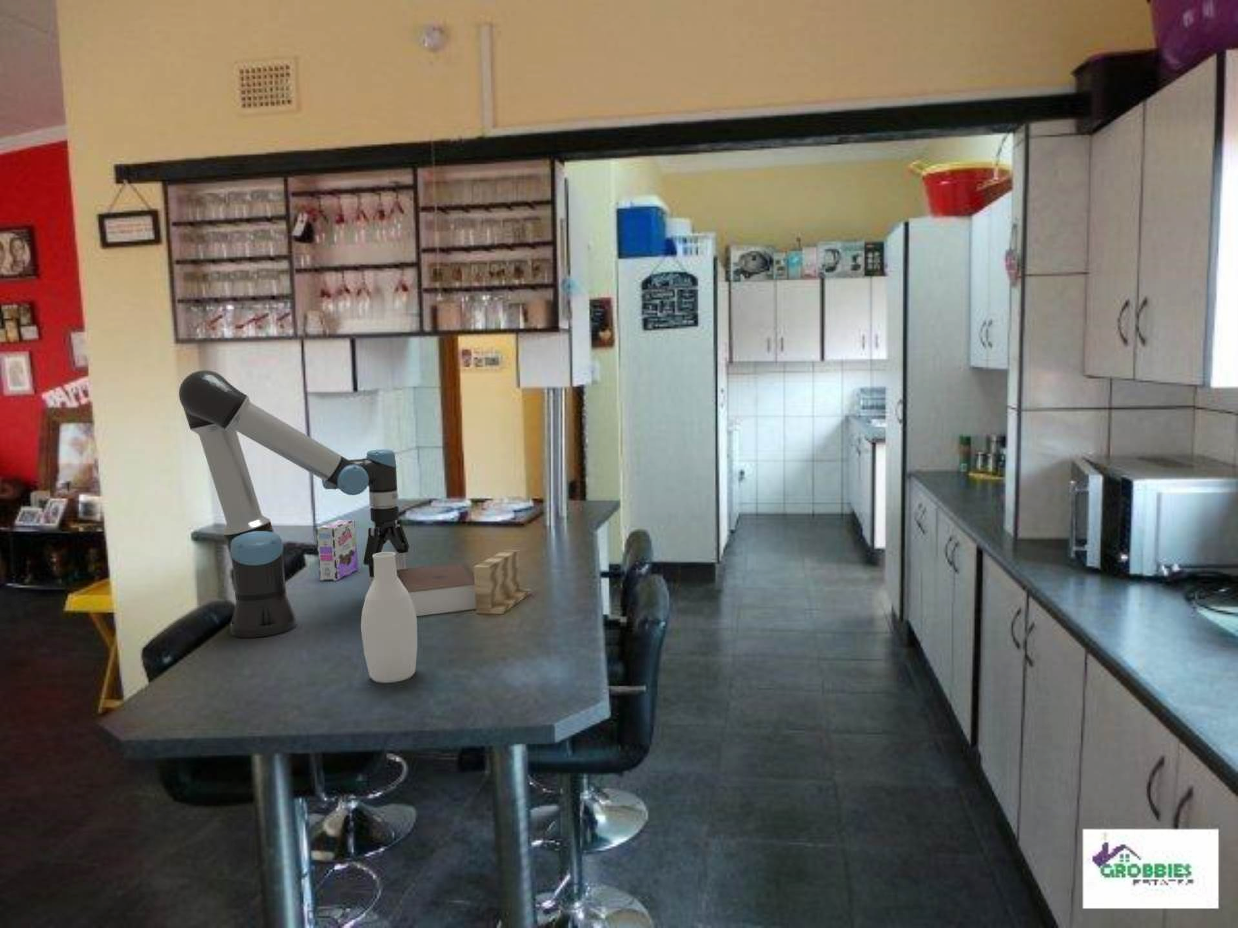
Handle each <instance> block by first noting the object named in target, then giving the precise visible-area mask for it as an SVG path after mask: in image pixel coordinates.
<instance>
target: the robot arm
mask: <svg viewBox="0 0 1238 928" xmlns="http://www.w3.org/2000/svg"><path fill="white" fill-rule="evenodd" d="M178 397H179V398H178V399H179V402H180V404H181V405H182V408H183V411H184V414H185V417H186V421H187V424H188V428H189V430H190V431H191V432H194V433H196V435H198V436H199V440H200V442H201V445H202V449H203V453H204V455H205V458H206V463H207V465H208V468H209V471H210V474H211V478H212V480H213V484H214V487H215V491H216V494H217V498H218V500H219V503H220V506H221V510H222V513H223V515H224V520H225V522H226V526H225V528H224V529H223V532H222V534H223V537H224V541H225V544H226V546H227V550H228V553H229V559H230V561H231V566H232V574H233V585H234V596H235V597H234V598H235V603H234V608H233V612H232V615H231V621H230V625H229V626H230V627H229V628H230V629H229V630H230V635H232V636H233V637H237V638H248V639H250V638H262V637H269V636H273V635H277V634H281V633H285V632H288V631H290V630H292V629H294V628H295V627H296V625H297V616H296V613H295V612H294V610H293V607H292V605H291V602H290V600H289V597H288V596H287V588H286V579H285V577H286V576H285V567H284V566H285V565H284V553H283V552H284V544H283V542H282V538H281V536H280V535H279V534H278V533H275V532H274V529H273V526H272V522H271V519H270V518H268V517H266V516H264V515H263V514H262V512H261V511H262V510H261V509H260V508H261V507H260V504H259V501H258V498H257V495H256V491H255V487H254V484H253V482H252V479H251V475H250V472H249V468H248V465H247V461H246V458H245V455H244V452H243V449H242V445H241V441H240V439H239V435H238V433H239V434H241V435H242V436H244V437H246V438H248V439H250V440H252V441H254V442H255V443H257V444H259V445H261V446H263V448H266V449H268V450H270V451H271V452H273V453H275V454H276V455H278V456H280V457H282V458H283V459H285V460H288V461H290V462H291V463H292V464H293V465H294V464H295V465H296V466H298V467H300V468H301V469H303V470H305V471H307V472H308V473H310V474H312V475H314V476H315V477H317V478H319V479H321V484H322V487H323V488H324V489H325V490H334V491H335V490H340V491H341V492H342V493H343V494H346V495H348V496H358V495H360V494H362V493H363V492H365V491H366V489H367V488H368V495H369V498H368V499H369V506H370V509H369V511H370V512H369V513H370V521H371V522H373V523H374V525H375V526H374V527H368V529H367V531H368V534H367V542H366V547H365V552H364V557H363V564H364V565H366V566H368V573H369V587H370V586H371V584H372V582H373V580H374V559H373V555H374V554H376V553H381V552H383V549H384V548H383V547H384V545H385V544H386V543H387V541H389V542H390V544H391V545H392V547H393V548H394V550H395V551H396V552H394V553H395V554H396V556H395V562H396V570H401V569H407V568H406V555H405V554H406V553H409V549H410V546H409V542H408V539H407V536H406V533H405V530H404V528H403V522H402V519H399V518H400V513H399V506H398V504H399V499H398V498H399V494H398V477H397V476H398V475H397V467H398V466H397V462H396V455H395V452H394V451H393V450H391V449H385V448H383V449H372V450H368V451H367V453H366V456H365V457H364V458H358V459H348V458H346V457H344V456H342V455H341V454H339V453H337V452H335V450H333V449H330V448H329V447H327V446H325V445H324V444H322V443H320V442H319V441H317V440H316V439H313V437H310V436H308V435H307V434H305V433H304V432H302V431H300V430H299V429H296V428H295V427H293V426H292V425H290V424H288V423H286V422H285V421H282V420H281V419H279V418H277V417H276V416H274V415H273V414H271V413H269V412H267V411H266V410H264V409H262V408H261V407H259V406H257V405H255V404H254V403H253V402H251V401H250V397H249V396H248V395H247V394H245V393H244V392H242V391H241V390H239V389H238V388H236V387H235V386H233V385H232V384H231V383H230V382H229V381H228V380H227V379H226V378H225V377H224V376H222V375H221V374H220V373H218V372H215V371H212V370H207V369H205V370H198V371H195V372H191V373H190V374H189V375H187V376H186V377H185V378H184V379H183V380H182V382H181V384H180V387H179V391H178Z"/></svg>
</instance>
